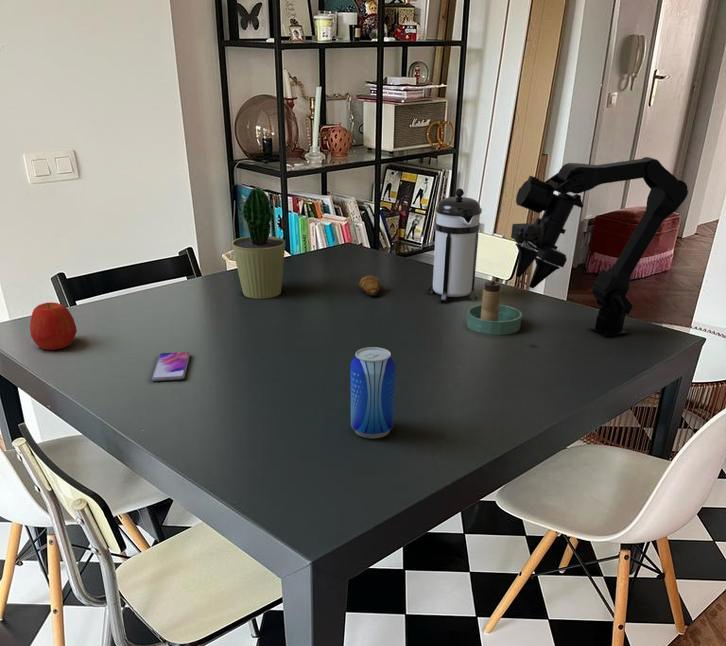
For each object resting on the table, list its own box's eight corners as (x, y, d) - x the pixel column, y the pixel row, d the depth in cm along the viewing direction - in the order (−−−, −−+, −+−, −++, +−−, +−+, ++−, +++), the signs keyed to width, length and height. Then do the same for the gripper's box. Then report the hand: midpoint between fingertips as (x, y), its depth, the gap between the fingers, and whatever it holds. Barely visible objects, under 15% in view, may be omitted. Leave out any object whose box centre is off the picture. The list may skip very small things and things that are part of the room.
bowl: (500, 315, 202) (501, 301, 200) (531, 332, 191) (533, 317, 189) (456, 322, 197) (457, 308, 195) (485, 340, 186) (487, 324, 184)
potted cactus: (243, 283, 226) (235, 180, 210) (292, 286, 224) (288, 181, 208) (229, 299, 213) (219, 190, 197) (281, 302, 211) (275, 191, 195)
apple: (88, 344, 182) (79, 302, 176) (46, 356, 175) (36, 313, 169) (66, 334, 188) (57, 293, 182) (25, 345, 181) (15, 303, 176)
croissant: (385, 297, 215) (385, 280, 212) (362, 299, 214) (362, 282, 211) (376, 284, 226) (377, 268, 223) (355, 285, 225) (355, 269, 222)
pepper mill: (491, 321, 196) (495, 277, 190) (500, 326, 193) (505, 281, 187) (476, 323, 195) (480, 279, 188) (486, 329, 191) (490, 284, 185)
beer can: (349, 421, 147) (348, 345, 139) (390, 419, 148) (392, 344, 139) (352, 441, 140) (352, 363, 132) (396, 439, 141) (398, 361, 132)
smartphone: (151, 378, 162) (159, 353, 175) (151, 382, 163) (160, 356, 175) (184, 376, 163) (190, 351, 176) (184, 380, 163) (190, 354, 176)
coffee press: (487, 293, 219) (497, 186, 203) (464, 307, 207) (473, 195, 191) (436, 283, 227) (442, 180, 211) (410, 297, 215) (415, 189, 199)
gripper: (511, 200, 178) (484, 261, 185) (540, 216, 162) (509, 283, 169) (549, 215, 182) (521, 275, 188) (581, 233, 166) (549, 297, 173)
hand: (524, 282), depth 180 cm, fingers open, 9 cm apart
